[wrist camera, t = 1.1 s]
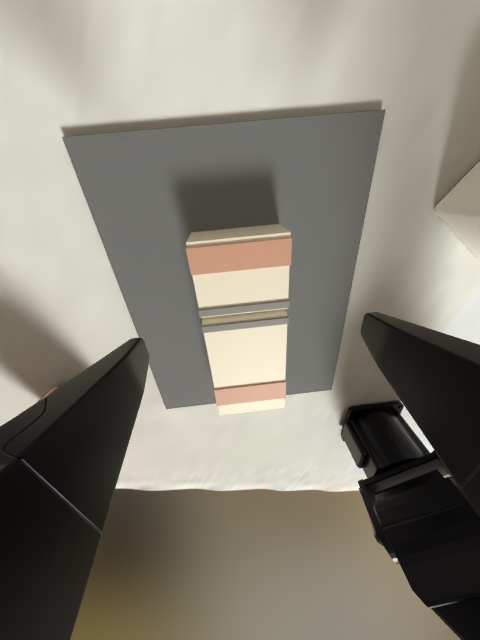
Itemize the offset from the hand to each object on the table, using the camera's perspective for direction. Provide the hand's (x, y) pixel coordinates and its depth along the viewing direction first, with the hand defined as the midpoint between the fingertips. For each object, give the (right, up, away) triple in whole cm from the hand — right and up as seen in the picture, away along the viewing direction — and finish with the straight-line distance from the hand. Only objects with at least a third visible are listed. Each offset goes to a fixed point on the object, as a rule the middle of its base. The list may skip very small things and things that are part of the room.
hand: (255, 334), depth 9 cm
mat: (-1, +2, +10) cm, 10 cm away
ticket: (0, -2, +12) cm, 12 cm away
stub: (-1, +5, +8) cm, 9 cm away
